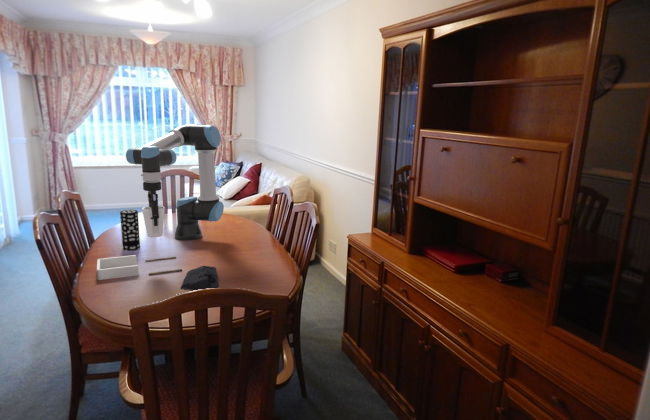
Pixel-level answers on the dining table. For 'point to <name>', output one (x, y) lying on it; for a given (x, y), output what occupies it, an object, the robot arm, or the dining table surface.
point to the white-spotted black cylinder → (130, 230)
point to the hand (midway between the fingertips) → (154, 230)
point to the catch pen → (117, 267)
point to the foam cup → (148, 221)
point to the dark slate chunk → (200, 278)
